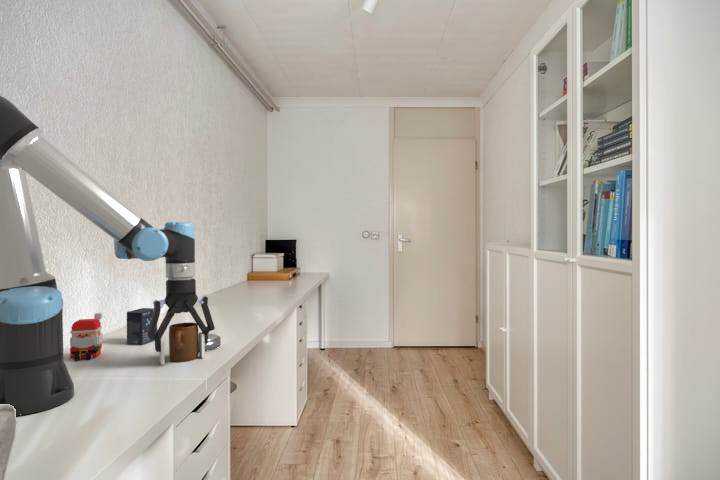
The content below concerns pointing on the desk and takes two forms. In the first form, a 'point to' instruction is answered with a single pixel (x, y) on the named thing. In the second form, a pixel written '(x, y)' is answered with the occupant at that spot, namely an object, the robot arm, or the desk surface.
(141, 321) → the box
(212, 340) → the grey metal dish
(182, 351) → the mug
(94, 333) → the figurine
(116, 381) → the desk surface
